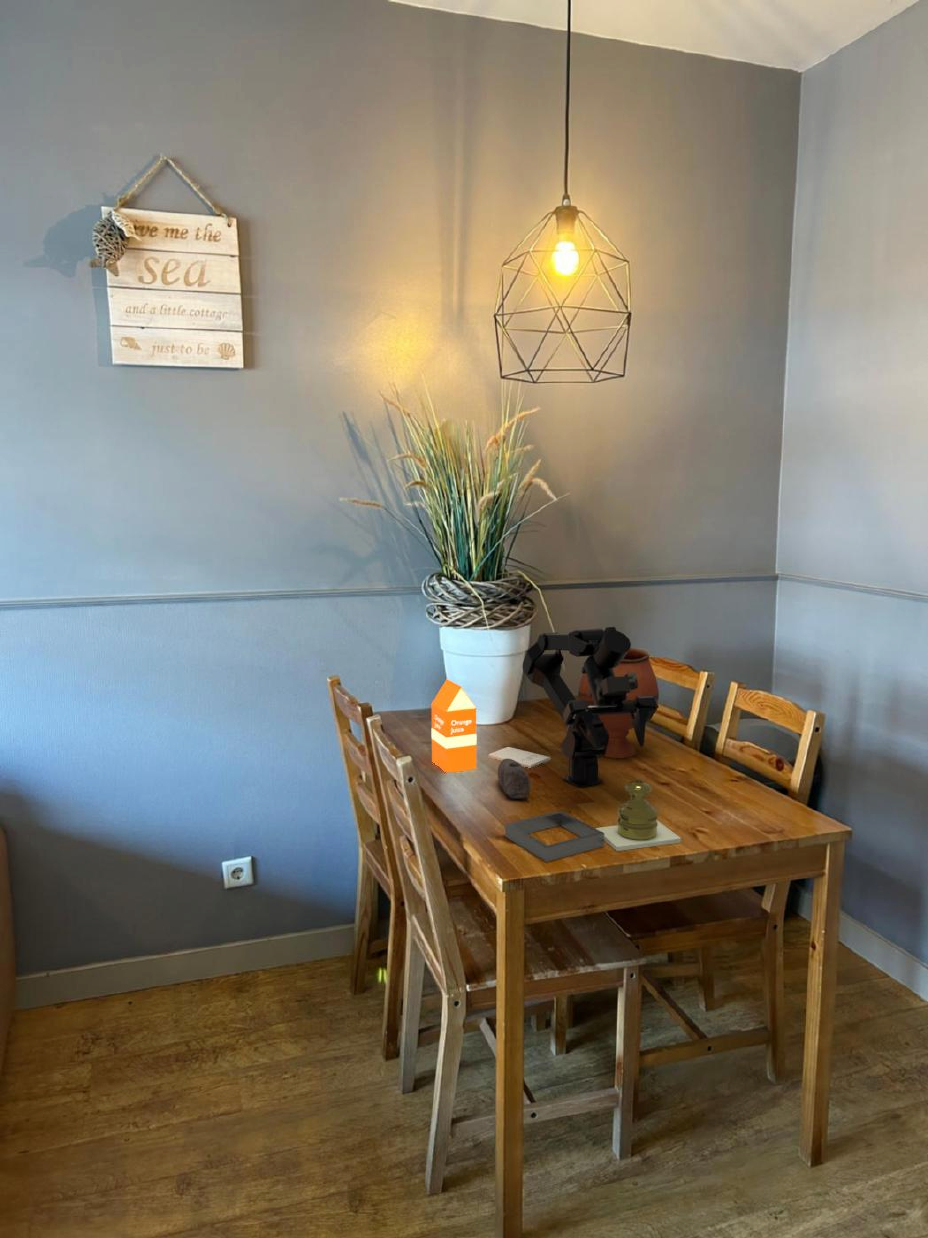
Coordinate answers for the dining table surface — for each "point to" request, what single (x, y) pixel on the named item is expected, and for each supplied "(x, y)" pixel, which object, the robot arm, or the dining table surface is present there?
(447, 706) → the orange juice
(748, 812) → the dining table surface
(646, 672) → the goblet
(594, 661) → the robot arm
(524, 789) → the perforated stone tool
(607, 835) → the tile
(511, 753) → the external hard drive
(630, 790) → the brass rounded piece
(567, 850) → the grey square frame
